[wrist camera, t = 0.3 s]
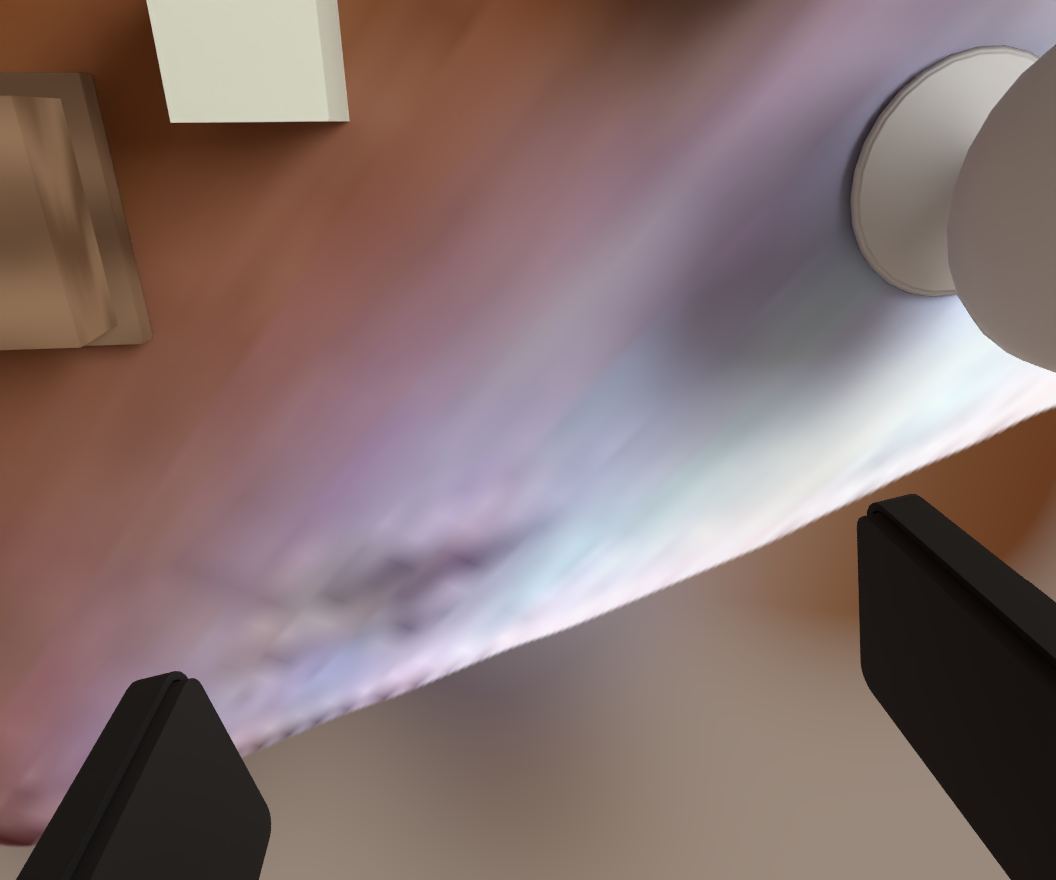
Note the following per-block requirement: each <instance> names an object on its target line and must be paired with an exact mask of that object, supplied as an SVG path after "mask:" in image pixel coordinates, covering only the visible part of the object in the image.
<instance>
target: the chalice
mask: <svg viewBox="0 0 1056 880" xmlns="http://www.w3.org/2000/svg"><path fill="white" fill-rule="evenodd" d="M850 203H851V217H852V227H853V230H854V234H855V237H856V240H857V243H858V246H859V249H860V251H861V253H862V254H863V256H864V257H865V259H866V260H867V262H868V264H869V265H870V267H871V268H872V269H873V270H874V271H875V272H876V273H877V274H878V275H879V276H880V277H882V278H883V279H884V280H885V281H886V282H887V283H889V284H891V285H893V286H895V287H897V288H899V289H901V290H903V291H906V292H908V293H913V294H918V295H924V296H930V297H931V296H945V295H955V294H957V296H958V297H959V299H960V300H961V302H962V303H963V305H964V307H965V308H966V310H967V311H968V313H969V314H970V316H971V318H972V319H973V321H974V322H975V323H976V325H977V326H978V327H979V329H980V330H981V331H982V333H983V334H984V335H985V336H987V337H988V338H989V339H991V340H992V341H993V342H994V343H996V344H997V345H998V346H999V347H1001V348H1002V349H1003V350H1004V351H1006V352H1007V353H1009V354H1011V355H1013V356H1015V357H1017V358H1019V359H1021V360H1023V361H1026V362H1028V363H1031V364H1034V365H1036V366H1039V367H1042V368H1045V369H1047V370H1050V371H1053V372H1056V45H1055V46H1053V47H1052V48H1051V49H1050V50H1049V51H1048V52H1046V53H1045V54H1044V55H1043V56H1042V57H1041V58H1039V57H1038V56H1036V55H1035V54H1033V53H1031V52H1030V51H1026V50H1022V49H1018V48H1014V47H1009V46H1005V45H1002V46H980V47H975V48H972V49H968V50H965V51H962V52H958V53H955V54H952V55H949V56H947V57H946V58H944V59H942V60H940V61H939V62H937V63H935V64H933V65H932V66H930V67H928V68H926V69H924V70H923V71H922V72H921V73H919V74H918V75H917V76H916V77H915V78H914V79H912V80H911V81H910V82H909V83H908V84H907V85H905V86H904V87H903V88H902V89H901V90H900V91H899V92H898V93H897V94H896V95H895V97H894V98H893V99H892V100H891V102H890V103H889V104H888V105H887V106H886V108H885V109H884V110H883V111H882V113H881V114H880V115H879V117H878V118H877V120H876V122H875V124H874V126H873V127H872V129H871V131H870V133H869V135H868V136H867V138H866V140H865V142H864V144H863V147H862V150H861V153H860V156H859V159H858V162H857V165H856V168H855V171H854V176H853V184H852V191H851V198H850Z"/></svg>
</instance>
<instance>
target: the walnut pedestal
mask: <svg viewBox="0 0 1056 880" xmlns="http://www.w3.org/2000/svg"><path fill="white" fill-rule="evenodd" d="M151 338H153V335H152V331H151V326H150V322H149V318H148V313H147V309H146V305H145V301H144V296H143V292H142V288H141V283H140V279H139V275H138V271H137V266H136V262H135V258H134V253H133V249H132V245H131V241H130V236H129V232H128V228H127V223H126V219H125V215H124V210H123V206H122V202H121V198H120V193H119V189H118V185H117V180H116V176H115V172H114V168H113V163H112V159H111V155H110V150H109V146H108V142H107V138H106V133H105V129H104V125H103V120H102V116H101V112H100V108H99V103H98V99H97V95H96V90H95V86H94V82H93V78H92V74H87V73H79V72H56V73H0V350H21V349H50V348H80V347H82V346H98V345H127V344H144V343H146V342H147V341H149V340H150V339H151Z"/></svg>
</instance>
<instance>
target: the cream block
mask: <svg viewBox="0 0 1056 880" xmlns="http://www.w3.org/2000/svg"><path fill="white" fill-rule="evenodd" d="M146 1H147V6H148V11H149V16H150V21H151V26H152V31H153V36H154V41H155V46H156V51H157V57H158V62H159V67H160V72H161V77H162V82H163V87H164V92H165V97H166V102H167V107H168V112H169V117H170V123H221V122H328V121H349V112H348V102H347V93H346V83H345V73H344V63H343V54H342V44H341V34H340V24H339V15H338V5H337V0H146Z"/></svg>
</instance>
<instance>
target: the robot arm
mask: <svg viewBox="0 0 1056 880" xmlns="http://www.w3.org/2000/svg"><path fill="white" fill-rule="evenodd" d="M857 542H858V543H857V547H858V583H859V617H860V618H859V619H860V653H861V668H862V672H863V675H864V678H865V681H866V683H867V685H868V687H869V689H870V690H871V692H872V693H873V695H874V696H875V697H876V699H877V700H878V701H879V703H880V704H881V705H882V707H883V708H884V709H885V711H886V712H887V713H888V715H889V716H890V717H891V719H892V720H893V721H894V723H895V724H896V726H897V727H898V728H899V730H900V731H901V732H902V734H903V735H904V736H905V738H906V739H907V740H908V742H909V743H910V744H911V746H912V747H913V748H914V750H915V751H916V752H917V754H918V755H919V756H920V758H921V759H922V761H923V762H924V763H925V765H926V766H927V767H928V769H929V770H930V771H931V773H932V774H933V775H934V777H935V778H936V779H937V781H938V782H939V783H940V785H941V786H942V788H943V789H944V790H945V792H946V793H947V794H948V796H949V797H950V798H951V800H952V801H953V802H954V804H955V805H956V806H957V808H958V809H959V810H960V812H961V813H962V814H963V816H964V817H965V818H966V820H967V821H968V822H969V824H970V825H971V827H972V828H973V829H974V831H975V832H976V833H977V835H978V836H979V837H980V839H981V840H982V841H983V843H984V844H985V845H986V847H987V848H988V849H989V851H990V852H991V854H992V855H993V856H994V858H995V859H996V860H997V862H998V863H999V864H1000V865H1001V867H1002V868H1003V870H1004V871H1005V872H1006V874H1007V875H1008V876H1009V878H1010V879H1011V880H1056V602H1055V601H1053V600H1052V599H1050V598H1049V597H1048V596H1047V595H1046V594H1044V593H1043V592H1042V591H1041V590H1039V589H1038V588H1037V587H1035V586H1034V585H1033V584H1032V583H1030V582H1029V581H1027V580H1026V579H1024V578H1023V577H1022V576H1020V575H1019V574H1018V573H1016V572H1015V571H1014V570H1013V569H1012V568H1010V567H1009V566H1008V565H1006V564H1005V563H1004V562H1003V561H1001V560H1000V559H999V558H998V557H996V556H995V555H994V554H993V553H991V552H990V551H989V550H987V549H986V548H985V547H984V546H982V545H981V544H980V543H979V542H977V541H976V540H975V539H973V538H972V537H971V536H970V535H968V534H967V533H966V532H965V531H963V530H962V529H961V528H959V527H958V526H957V525H956V524H954V523H953V522H952V521H951V520H949V519H948V518H947V517H945V516H944V515H943V514H942V513H941V512H939V511H938V510H937V509H935V508H934V507H933V506H932V505H930V504H929V503H928V502H926V501H925V500H924V499H923V498H921V497H920V496H918V495H916V494H909V495H904V496H900V497H896V498H892V499H888V500H884V501H880V502H876V503H872V504H871V505H870V506H869V508H868V510H867V516H863V517H861V518H859V520H858V522H857ZM270 833H271V817H270V812H269V809H268V807H267V804H266V803H265V801H264V799H263V797H262V795H261V793H260V791H259V790H258V788H257V786H256V784H255V782H254V781H253V779H252V777H251V775H250V773H249V771H248V769H247V768H246V766H245V764H244V762H243V760H242V758H241V756H240V755H239V753H238V751H237V749H236V747H235V745H234V744H233V742H232V740H231V738H230V736H229V734H228V732H227V731H226V729H225V727H224V725H223V723H222V721H221V720H220V718H219V716H218V714H217V712H216V710H215V709H214V707H213V705H212V703H211V701H210V699H209V697H208V696H207V694H206V692H205V690H204V688H203V686H202V685H201V683H200V682H199V681H198V680H197V679H195V678H190V679H188V678H187V676H186V675H185V674H183V673H182V672H179V671H174V672H170V673H166V674H162V675H157V676H153V677H149V678H145V679H141V680H137V681H135V682H133V683H132V684H131V685H130V686H129V688H128V689H127V690H126V692H125V694H124V696H123V697H122V699H121V701H120V702H119V704H118V706H117V708H116V709H115V711H114V713H113V714H112V716H111V718H110V720H109V721H108V723H107V725H106V726H105V728H104V730H103V732H102V733H101V735H100V737H99V738H98V740H97V742H96V744H95V745H94V747H93V749H92V750H91V752H90V754H89V756H88V757H87V759H86V761H85V762H84V764H83V766H82V768H81V769H80V771H79V773H78V774H77V776H76V778H75V780H74V781H73V783H72V785H71V786H70V788H69V790H68V792H67V793H66V795H65V797H64V798H63V800H62V802H61V804H60V805H59V807H58V809H57V810H56V812H55V814H54V816H53V817H52V819H51V821H50V822H49V824H48V826H47V827H46V829H45V831H44V833H43V834H42V836H41V838H40V839H39V841H38V843H37V845H36V846H35V848H34V850H33V851H32V853H31V855H30V857H29V858H28V861H27V862H26V864H25V865H24V867H23V869H22V870H21V872H20V874H19V876H18V877H17V879H16V880H259V877H260V873H261V868H262V865H263V861H264V857H265V854H266V850H267V846H268V842H269V838H270Z"/></svg>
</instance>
